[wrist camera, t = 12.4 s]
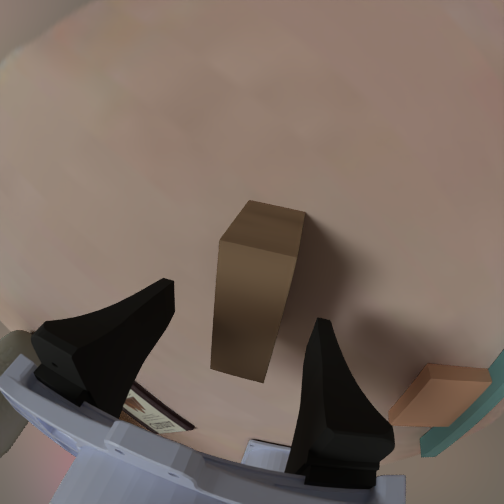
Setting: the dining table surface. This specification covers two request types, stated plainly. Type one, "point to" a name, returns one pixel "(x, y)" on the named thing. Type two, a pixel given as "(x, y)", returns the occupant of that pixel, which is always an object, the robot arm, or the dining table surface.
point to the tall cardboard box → (253, 287)
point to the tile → (439, 396)
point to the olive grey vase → (3, 414)
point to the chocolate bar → (153, 412)
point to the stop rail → (466, 414)
